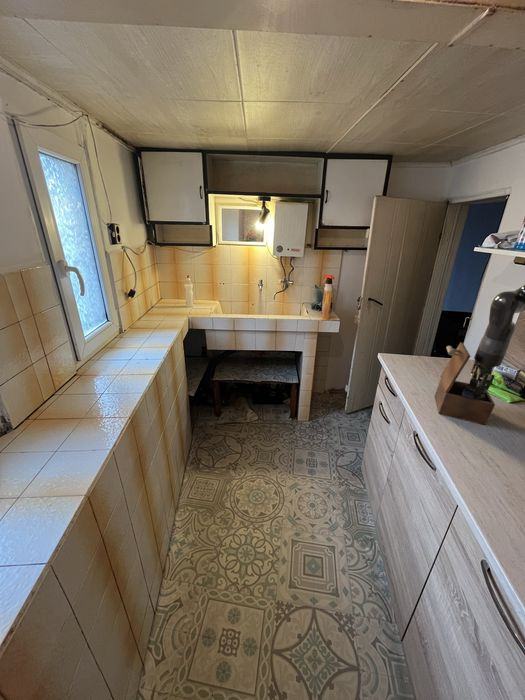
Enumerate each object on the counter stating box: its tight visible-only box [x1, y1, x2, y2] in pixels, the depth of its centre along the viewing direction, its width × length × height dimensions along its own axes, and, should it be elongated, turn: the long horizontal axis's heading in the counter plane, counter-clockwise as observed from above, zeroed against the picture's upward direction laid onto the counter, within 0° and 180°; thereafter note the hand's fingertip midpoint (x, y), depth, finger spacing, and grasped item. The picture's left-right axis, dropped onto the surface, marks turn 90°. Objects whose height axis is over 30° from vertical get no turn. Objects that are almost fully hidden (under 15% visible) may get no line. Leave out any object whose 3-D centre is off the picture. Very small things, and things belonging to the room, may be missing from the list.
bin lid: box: [440, 341, 471, 393], centre depth 102 cm, size 15×13×5 cm
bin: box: [434, 378, 496, 426], centre depth 105 cm, size 15×13×9 cm
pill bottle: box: [462, 377, 486, 401], centre depth 102 cm, size 6×6×11 cm
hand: (474, 391), depth 102 cm, fingers closed on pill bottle, 6 cm apart
